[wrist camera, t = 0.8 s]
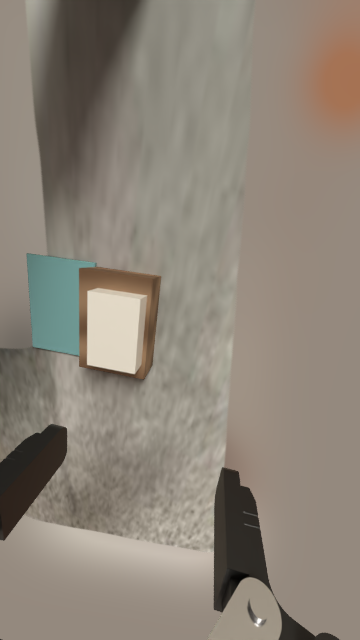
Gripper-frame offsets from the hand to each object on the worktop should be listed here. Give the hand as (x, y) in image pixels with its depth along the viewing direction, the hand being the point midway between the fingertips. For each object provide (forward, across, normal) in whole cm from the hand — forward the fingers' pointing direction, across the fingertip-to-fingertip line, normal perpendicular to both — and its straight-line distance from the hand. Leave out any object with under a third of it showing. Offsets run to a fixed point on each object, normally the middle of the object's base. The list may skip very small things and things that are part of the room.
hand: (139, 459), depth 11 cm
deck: (+20, +9, 0) cm, 22 cm away
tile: (+16, +8, 0) cm, 18 cm away
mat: (+20, +18, 0) cm, 28 cm away
